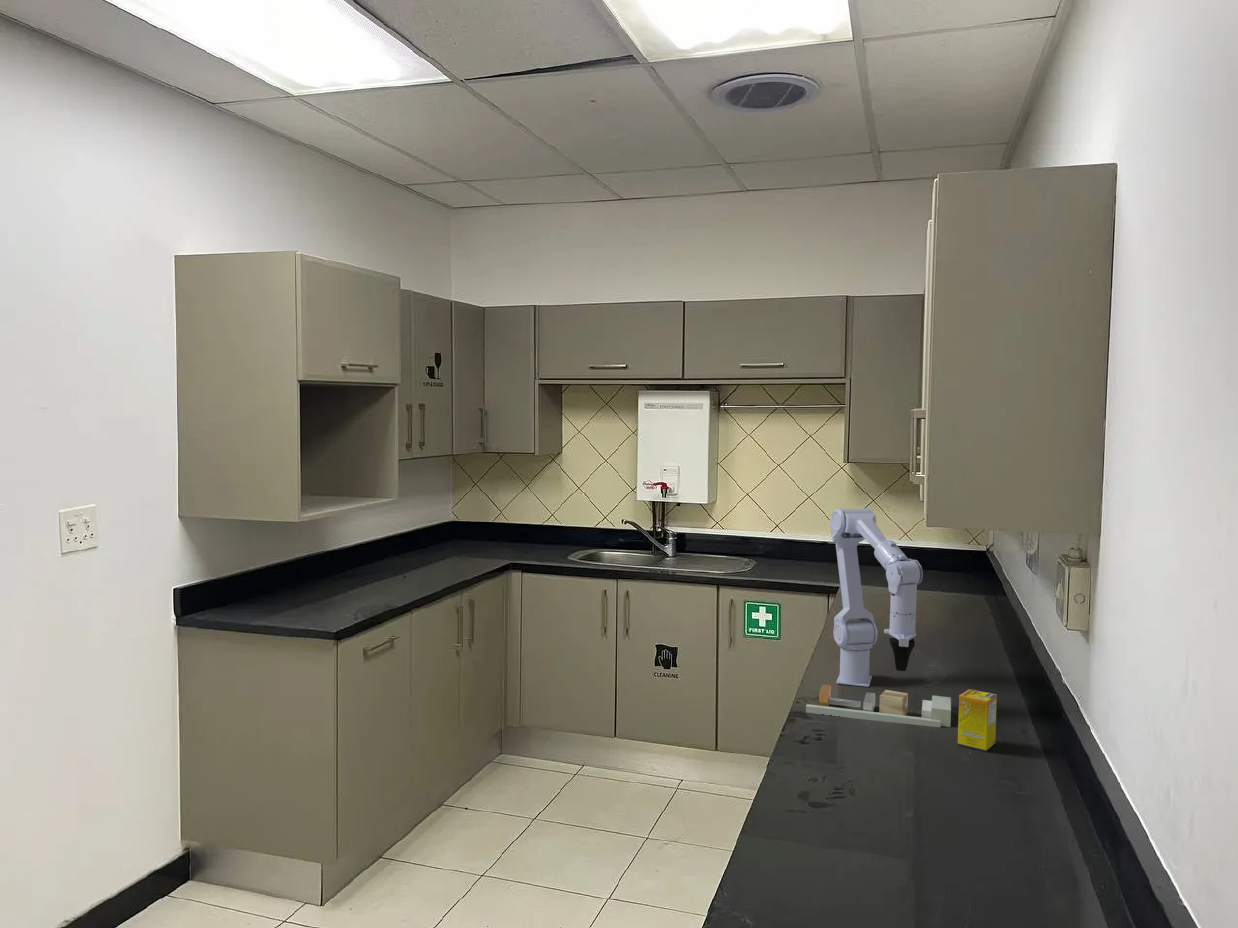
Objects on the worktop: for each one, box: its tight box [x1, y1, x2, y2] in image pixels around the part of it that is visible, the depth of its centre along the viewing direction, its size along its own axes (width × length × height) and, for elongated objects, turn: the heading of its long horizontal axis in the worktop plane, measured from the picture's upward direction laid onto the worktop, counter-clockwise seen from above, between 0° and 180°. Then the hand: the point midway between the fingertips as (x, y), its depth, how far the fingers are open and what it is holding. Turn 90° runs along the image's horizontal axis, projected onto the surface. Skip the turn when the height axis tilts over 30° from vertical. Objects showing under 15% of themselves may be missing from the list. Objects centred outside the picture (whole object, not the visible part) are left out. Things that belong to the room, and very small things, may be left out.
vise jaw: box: [818, 684, 876, 712], centre depth 213 cm, size 8×12×4 cm, turn 70°
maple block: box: [878, 689, 909, 716], centre depth 209 cm, size 5×5×5 cm
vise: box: [805, 695, 952, 728], centre depth 210 cm, size 11×31×4 cm, turn 70°
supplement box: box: [957, 688, 998, 753], centre depth 189 cm, size 6×6×11 cm
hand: (900, 670), depth 215 cm, fingers closed
